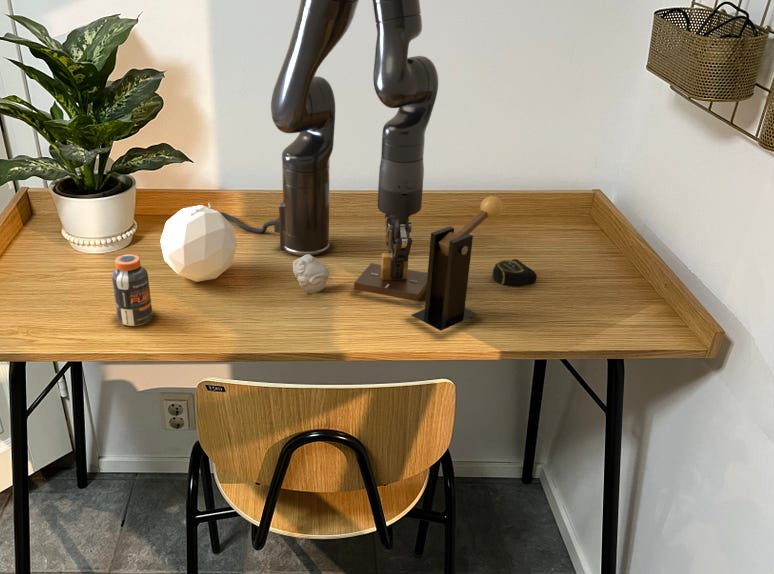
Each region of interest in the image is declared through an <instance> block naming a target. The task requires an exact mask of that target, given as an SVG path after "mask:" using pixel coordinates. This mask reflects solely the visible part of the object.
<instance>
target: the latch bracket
mask: <svg viewBox="0 0 774 574" xmlns="http://www.w3.org/2000/svg"><path fill="white" fill-rule="evenodd" d="M449 232H452V233H454V234H455V227H452V226H451V225H449V226H446V227H443V228H441V229H439V230H435V231H433V232H430V242H429V255H428V266H427V273H428V276H427V288H426V290H425V301H424V308H423V309H421V310H419V311H417V312H414V313H412V314H411V317H413V318H415V319H417V320H419V321H421V322H423V323H425V324H427V325H429V326H430V327H432V328H435V329H436V330H438V331H439V332H442V331H443V330H446V329H449V328H451V327H453V326H455V325H457V324H459V323H461V322H464V321H466V320H468V319H470V318H473V317H475V316H477V315H478V314H477V313H476V312H474V311H471V310H469V309H467V308H466V301H467V300H466V299H467V293H468V283H469V275H470V274H469V273H470V267H471V266H470V265H471V257H472V247H473V239H474V235H473V234H471V233H470V234H466V235H464V236H461V237H458V238H456V239H453V240H450V241H449V252H448V256H447V255H445V254H442V252H441V249H440V245H439V242H440V241H441V240H442V239H443V238H444V237H445V236H446V235H447V234H448V233H449Z"/></svg>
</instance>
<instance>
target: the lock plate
mask: <svg viewBox="0 0 774 574" xmlns="http://www.w3.org/2000/svg"><path fill="white" fill-rule="evenodd" d="M427 276H428V272H424V271H419V270H413V269H408V275H407V279H398V280H382V278H381V264H378V263H372V262H371V263H370V264H369V265H368V266H367V267H366V268H365V270H364V271H363V272H362V273H361V274H360V276H358V277H357V279H356V280H355V281H354V283H353V290H355V291H360V292H361V291H362V292H367V293H372V294H377V295H382V296H386V297H387V296H389V297H393V298H399V299H404V300H409V301H415V302H419V301H420V300H421V298H422V296H423V295H424V294H425V293H426V288H427Z"/></svg>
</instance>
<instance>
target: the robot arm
mask: <svg viewBox="0 0 774 574" xmlns="http://www.w3.org/2000/svg"><path fill="white" fill-rule="evenodd" d="M359 1H360V0H300V2H299V7H298V12H297V15H296V20H295V23H294V27H293V31H292V35H291V38H290V41H289V45H288V49H287V51H286V54H285V56H284V60H283V63H282V65H281V68H280V71H279V73H278V76H277V78H276V82H275V84H274V87H273V91H272V94H271V101H270V113H271V119H272V122H273V124H274V126H275V127H276V129H277V130H278V131H280V132H282V133H284V134H298V135H297V136H296V137H295V139H293V141H292V142H290V143H289V144H288V145H287V146H286V147H285V148H284V149H283V150H282V153H281V172H282V173H281V176H282V177H281V179H282V181H281V182H282V202H280V203H279V205H278V216H279V217H278V218H276V219H275V220H268V221H267V222H265V223H263V225H262V228H256V227H253V226H250V225H247V224H244V223H242V222H241V221H240V220H239V219H238V218H237V217H235V216H233V215H230V214H227V213H226V212H222V211H219V212H220V213H221V214H222V215H223V216H224V217H225V219H226V220H228V221H232V222H233V223H235V224H236V225H237V226H238V227H239V228H241V229H243V230H245V231H248V232H251V233H255V234H263V233H266V231H267V230H268V228H269V227H272V226H273V227H274V229H273V230H274V233H275V234H276V233H277V234H279V249H280V250H283V251H285V252H287V253H288V254H291V255H293V256H300V257H302V256H304V255H307V254H310V255H311V256H313V257H314V256H319V255H322V254H324V253H326V252H327V251H329V250H330V165H331V164H330V163H331V162H330V161H331V156H332V153H333V150H334V143H335V129H336V128H335V126H336V98H335V94H334V90H333V88H332V85H331V84H330V83H329V80H327V79H326V78H324V77H322V76H319V75H316V73H317V72H318V69H319V68H320V66H321V65H322V63H323V62H324V61H325V59H326V58H327V57H328V56H329V54H330V53H331V52H332V51H333V50H334V48H335V47H336V46H337V45H338V43H339V42H340V41H342V39H343V37H344V36H345V35H346V33H347V32H348V30H349V28H350V26H351V24H352V22H353V19H354V17H355V15H356V11H357V8H358V4H359ZM372 5H373V6H372V7H373V15H374V20H375V28H376V40H375V47H374V63H373V72H372V74H373V76H372V81H373V87H374V88H373V89H374V92H375V94H376V96H377V98H378V100H379V101H380V102H381V103H382V105H383V106H385V107H386V108H390V109H397V112H396V113H395V115H394V116H393V117H391V118H390V119H389V120H387V121H386V122H385V123H384V125H383V127H382V131H381V148H380V149H381V152H380V153H381V154H380V162H379V168H378V186H377V209H378V211H380V212H381V213H383V214H385V215H384V218H385V219H384V220H385V240H386V241H385V245H386V247H387V253H391V256H390V258H391V270H390V277H391V279H402V278H403V268H404V261H407V260H408V256H409V257H410V252H411V249H412V244H413V238H412V237H410V234H411V233H412V222H411V221H410V219H409V218H410V217H411V216H412V215H416V214H417V213H419V212H420V211H421V210H422V203H423V192H424V191H423V190H424V174H425V165H424V163H425V162H424V157H425V156H424V155H425V139H426V131H427V128H428V126H429V122H430V121H431V117H432V113H433V109H434V106H435V103H436V99H437V96H438V91H439V75H438V74H439V73H438V70H437V68H436V66H435V64H434V62H433V61H432V59H430V58H429V57H427V56H424V55H415V56H410V57H408V55H409V48H410V43H411V42H412V41H413V40H415V39H417V38H418V37H419V36H420V35H421V33H422V31H423V20H422V18H423V17H422V11H421V2H420V0H372ZM408 261H409V260H408Z"/></svg>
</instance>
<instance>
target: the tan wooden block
mask: <svg viewBox="0 0 774 574" xmlns="http://www.w3.org/2000/svg"><path fill="white" fill-rule="evenodd" d="M390 256H391V253H388V252H383V253H382V252H381V262H380V263H381V264H380V265H381V278H382V280H398V279H391V277H390V270H391V258H390ZM409 258H410V255H409V256H408V260H407V261H404V268H403V278H402V279H407V275H408V270H409V261H410V260H409Z"/></svg>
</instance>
